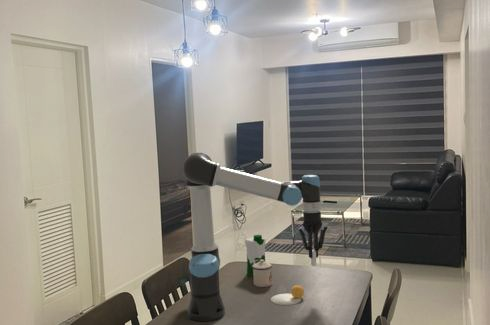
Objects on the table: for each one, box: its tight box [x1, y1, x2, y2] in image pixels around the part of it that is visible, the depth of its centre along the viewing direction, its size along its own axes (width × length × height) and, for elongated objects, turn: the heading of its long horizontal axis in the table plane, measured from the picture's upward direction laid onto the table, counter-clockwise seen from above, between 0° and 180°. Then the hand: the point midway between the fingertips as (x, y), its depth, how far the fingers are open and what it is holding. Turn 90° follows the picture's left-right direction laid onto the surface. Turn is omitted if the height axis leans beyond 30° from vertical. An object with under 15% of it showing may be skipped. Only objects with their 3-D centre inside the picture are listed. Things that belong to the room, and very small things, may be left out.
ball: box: [290, 284, 305, 299], centre depth 218 cm, size 6×6×6 cm
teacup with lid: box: [252, 260, 273, 288], centre depth 239 cm, size 12×9×12 cm
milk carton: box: [244, 234, 267, 277], centre depth 252 cm, size 9×9×20 cm
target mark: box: [270, 293, 302, 306], centre depth 217 cm, size 13×13×1 cm
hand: (313, 264), depth 218 cm, fingers closed
